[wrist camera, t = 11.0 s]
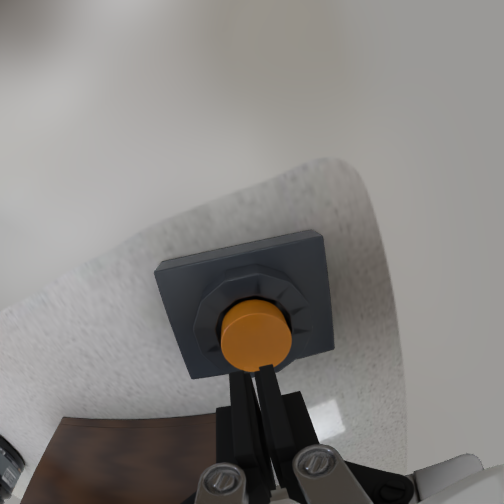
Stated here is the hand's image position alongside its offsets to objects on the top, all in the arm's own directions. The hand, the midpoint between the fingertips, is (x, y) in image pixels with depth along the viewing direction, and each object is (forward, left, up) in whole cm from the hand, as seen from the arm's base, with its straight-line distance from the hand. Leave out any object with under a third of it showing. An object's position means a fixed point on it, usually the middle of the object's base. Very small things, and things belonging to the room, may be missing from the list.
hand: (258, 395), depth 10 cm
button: (0, 0, -6) cm, 6 cm away
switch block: (0, 0, -9) cm, 9 cm away
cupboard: (+13, +23, -9) cm, 28 cm away
